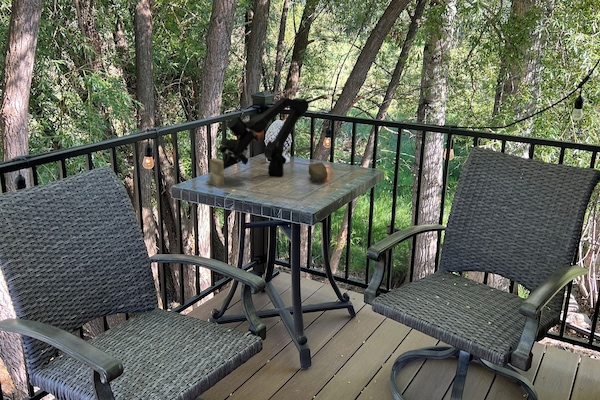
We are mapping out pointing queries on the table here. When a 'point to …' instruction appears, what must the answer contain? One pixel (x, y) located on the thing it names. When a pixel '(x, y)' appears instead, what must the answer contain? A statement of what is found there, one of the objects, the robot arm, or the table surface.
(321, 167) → the stone
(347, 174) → the table surface
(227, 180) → the rubber mat
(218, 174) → the maple block
